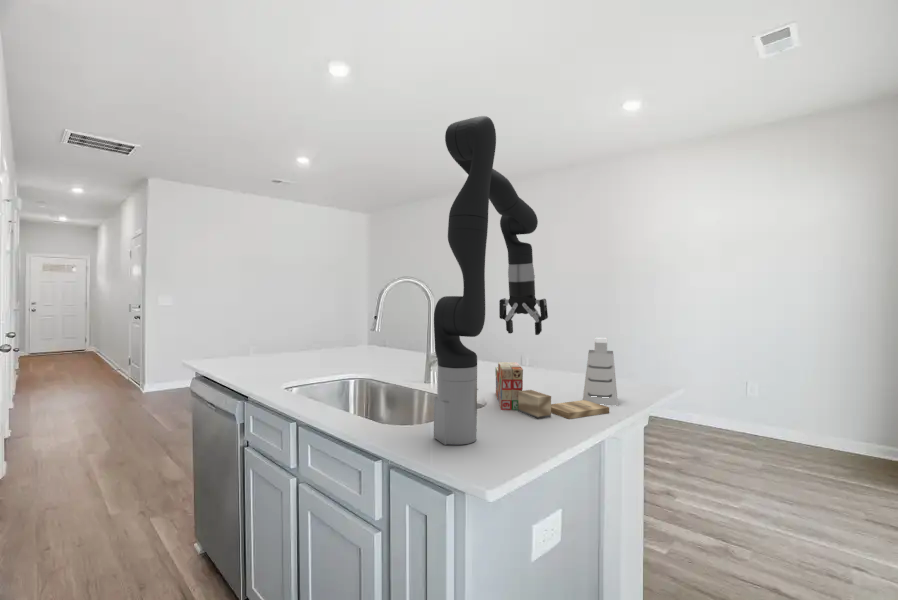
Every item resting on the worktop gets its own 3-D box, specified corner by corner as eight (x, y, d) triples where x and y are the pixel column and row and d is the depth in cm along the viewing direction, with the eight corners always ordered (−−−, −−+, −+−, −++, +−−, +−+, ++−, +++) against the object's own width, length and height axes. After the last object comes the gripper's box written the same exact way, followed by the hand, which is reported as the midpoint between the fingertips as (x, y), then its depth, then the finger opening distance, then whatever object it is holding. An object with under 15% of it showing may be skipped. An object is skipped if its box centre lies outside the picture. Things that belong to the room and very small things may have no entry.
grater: (582, 403, 144) (583, 339, 143) (583, 396, 154) (584, 336, 153) (618, 406, 140) (619, 340, 140) (617, 398, 150) (618, 337, 150)
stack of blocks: (495, 394, 156) (495, 357, 156) (513, 394, 156) (514, 358, 156) (501, 410, 135) (501, 368, 135) (522, 410, 135) (523, 368, 134)
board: (568, 419, 126) (568, 413, 126) (545, 410, 135) (545, 404, 134) (609, 412, 132) (609, 407, 132) (584, 405, 141) (584, 399, 141)
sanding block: (537, 419, 125) (538, 397, 125) (518, 411, 133) (518, 391, 133) (550, 417, 127) (551, 396, 127) (530, 410, 135) (531, 389, 135)
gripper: (493, 281, 135) (496, 335, 137) (540, 280, 128) (542, 337, 130) (504, 278, 142) (507, 330, 144) (549, 277, 134) (551, 332, 136)
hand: (524, 333), depth 137 cm, fingers open, 8 cm apart
